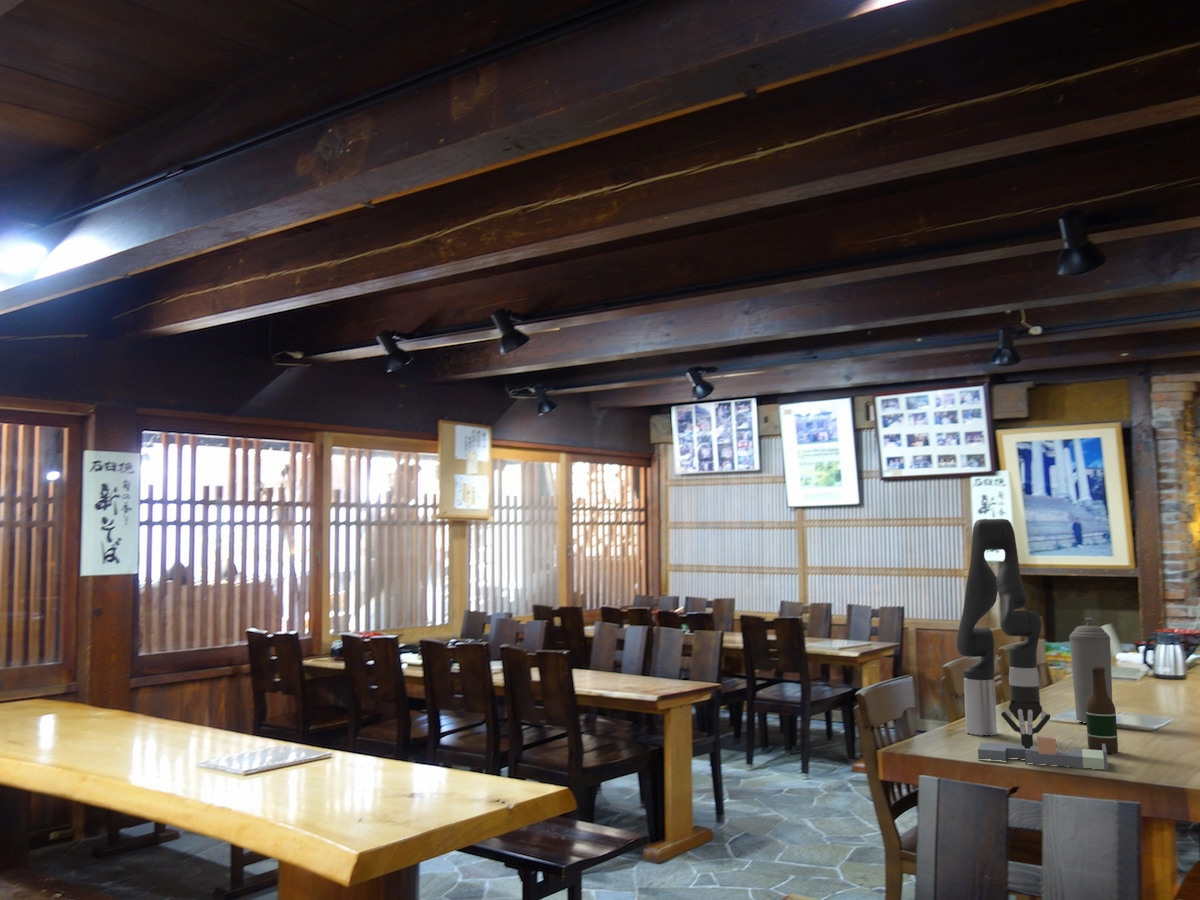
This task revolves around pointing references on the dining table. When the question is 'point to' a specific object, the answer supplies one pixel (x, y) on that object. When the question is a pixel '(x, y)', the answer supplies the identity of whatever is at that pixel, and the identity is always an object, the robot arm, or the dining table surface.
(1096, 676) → the beer bottle
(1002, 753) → the board
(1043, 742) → the block
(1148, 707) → the dining table surface
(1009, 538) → the robot arm
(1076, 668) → the canister
